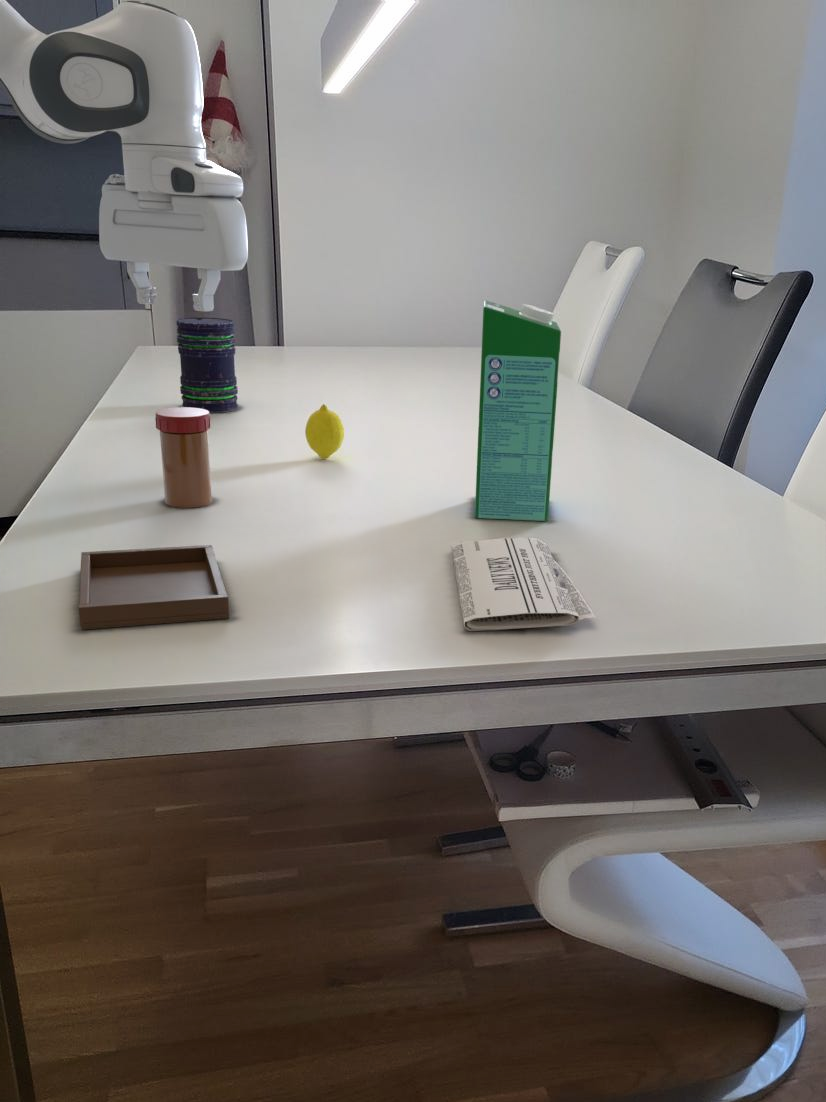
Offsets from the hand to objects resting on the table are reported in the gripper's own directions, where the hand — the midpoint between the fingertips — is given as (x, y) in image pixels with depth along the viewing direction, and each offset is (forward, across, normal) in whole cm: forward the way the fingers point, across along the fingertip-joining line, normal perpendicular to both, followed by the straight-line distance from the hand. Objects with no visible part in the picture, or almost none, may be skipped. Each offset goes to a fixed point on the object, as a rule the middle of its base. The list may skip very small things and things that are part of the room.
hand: (175, 307), depth 119 cm
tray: (+23, +21, -25) cm, 40 cm away
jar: (+23, 0, 0) cm, 23 cm away
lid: (+12, 0, 0) cm, 12 cm away
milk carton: (+23, +33, +23) cm, 46 cm away
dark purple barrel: (+23, -42, +46) cm, 66 cm away
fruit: (+23, -2, +29) cm, 37 cm away
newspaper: (+23, +48, -2) cm, 53 cm away
